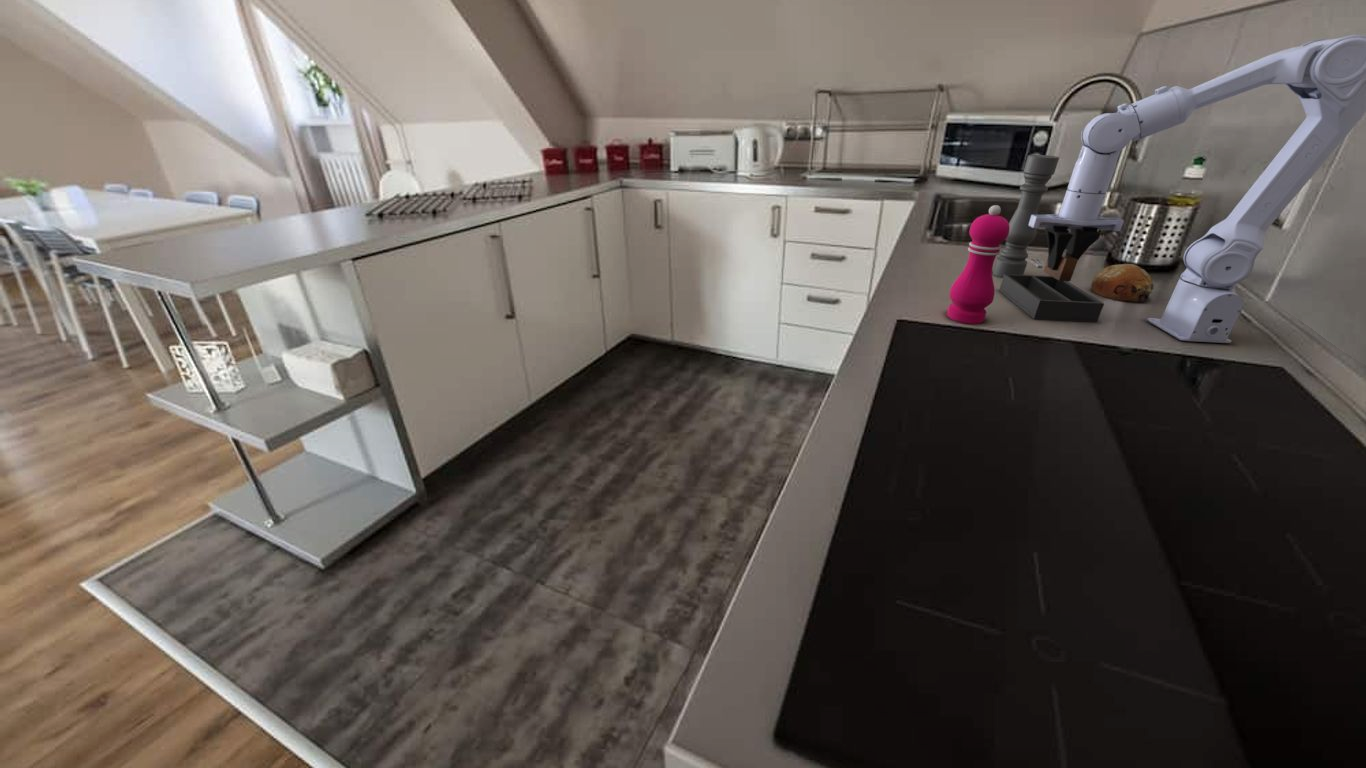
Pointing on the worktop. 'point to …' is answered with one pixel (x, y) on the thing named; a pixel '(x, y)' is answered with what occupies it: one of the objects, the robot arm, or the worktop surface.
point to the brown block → (1063, 270)
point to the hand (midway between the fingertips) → (1059, 268)
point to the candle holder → (1025, 215)
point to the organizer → (1050, 298)
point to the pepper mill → (978, 269)
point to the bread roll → (1123, 283)
